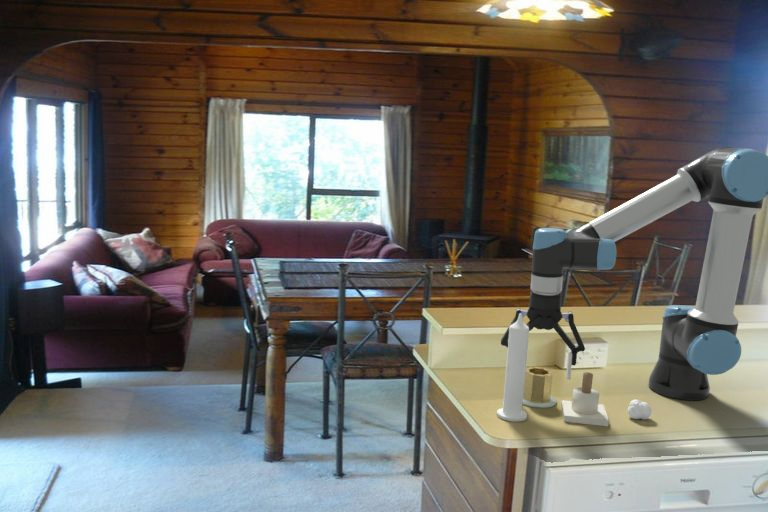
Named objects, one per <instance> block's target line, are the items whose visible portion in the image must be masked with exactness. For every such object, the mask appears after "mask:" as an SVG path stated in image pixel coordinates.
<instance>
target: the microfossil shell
mask: <svg viewBox="0 0 768 512" xmlns="http://www.w3.org/2000/svg"><path fill="white" fill-rule="evenodd" d="M651 414H652V408H651V405H649V403H647V402H646V401H641V400H640V399H632V400H630V402H629V405H628V408H627V415H628V416H629V417H630V419H634V420H639V419H641V420H643V421H644V420H648V419H649V418H650V417H651V416H652V415H651Z"/></svg>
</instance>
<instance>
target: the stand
mask: <svg viewBox="0 0 768 512" xmlns="http://www.w3.org/2000/svg"><path fill="white" fill-rule="evenodd" d="M593 378H594V374H593V373H592V372H586V371H585V372H583V373H582V384H581V387H576V388H574V389H573V390H572V400H564V399H563V400H562V399H561V403H560V407H561V413H562V419H563V422H564V423H573V424H582V425H592V426H593V425H594V426H601V427H609V423H610V422H609V421H610V420H609V416H608V414H607V411H606V407H605V404H603V403H602V404H601V403H599V401H600V392H599V391H598V390H596V389H593V388H592V387H593Z"/></svg>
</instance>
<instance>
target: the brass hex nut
mask: <svg viewBox="0 0 768 512" xmlns="http://www.w3.org/2000/svg"><path fill="white" fill-rule="evenodd" d="M553 375H554V374H553V371H552V370H550V369H548V368H545V367H539V366H529V367H526V372H525V383H524V395H523V399H525V400H527V401H529V402H532V403H547V402H550V397H551V395H552V384H553Z"/></svg>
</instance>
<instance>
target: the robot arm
mask: <svg viewBox="0 0 768 512" xmlns="http://www.w3.org/2000/svg"><path fill="white" fill-rule="evenodd" d="M767 196H768V155H767V154H766V153H764V152H762V151H760V150H759V151H758V150H756V149H753V148H750V147H749V148H748V147H747V148H746V147H745V148H744V147H743V148H742V147H731V146H730V147H728V146H727V147H725V146H724V147H719V148H715V149H713V150H711V151H708V152H707V153H704V154H703V155H701V156H699V157H697V158H696V159H694V160H692V161H691V162H689V163H687V164H686V165H683V166H681V167H680V168H678V169H677V171H676V175H673V176H672V177H671V178H669V179H666V180H664V181H662V182H661V183H659V184H657V185H656V186H654V187H651V188H650V189H648V190H646V191H645V192H643V193H641V194H638V195H637V196H635V197H634V198H632V199H630V200H628V201H626V202H624V203H622V204H621V205H619V206H617V207H615V208H613V209H611V210H610V211H608V212H606V213H604V214H602V215H600V216H599V217H597V218H595V219H593V220H591V221H590V222H588V223H585V224H584V225H582V226H579V227H578V228H570V229H567V230H565V229H563V228H557V227H555V228H554V227H540V228H538V229H536V230H535V232H534V237H533V242H532V243H533V244H532V259H531V274H530V277H531V278H530V290H531V291H530V293H529V303H528V310H524V309H521V308H520V307H517V308H516V311H515V315H514V317H513V319H512V320H511V323H510V325H512V324H514V323H515V322H516V321H517V319H518V317H519V314H520V313H521V314H522V319H524V317H527V318H528V320H529V321H527V323H525V324H526V325H527V326H528V327H529V332H530V331H532V330H533V329H534V328H535V329H537V330H546V331H551V330H553V329H554V330H555V332H556V333H557V334H558V336H559V337H560V338H561V339H562V341H563V342H564V343H565V344H566V346H567V347H568V348H569V350H567V351H568V352H567V363H566V379H567V380H571V379H572V378H571V376H572V366H576V365H577V356H578V354H579V352H585V350H586V348H585V345H584V342H583V340H582V338H581V335H580V333H579V331H578V329H577V327H576V324H575V321H574V320H575V318H574V314H573V312H572V311H568V312H562V311H561V308H562V293H561V292H562V291H563V281H564V269H568V270H570V269H572V270H577V269H578V270H595V271H601V270H602V271H603V270H605V271H606V270H612V269H613V268H614V267H615V265H616V261H617V246H616V243H615V242H617V241H619V240H621V239H623V238H625V237H627V236H628V235H630V234H632V233H634V232H636V231H638V230H639V229H642V228H644V227H645V226H648V225H650V224H651V223H653V222H655V221H657V220H659V219H660V218H662V217H664V216H665V215H667V214H670V213H671V212H674V211H675V210H677V209H678V208H681V207H683V206H684V205H687V204H689V203H690V202H696V203H698V202H701V201H702V200H704V199H706V198H708V201H707V203H708V204H709V206H710V207H711V208H712V216H711V217H712V218H711V221H710V227H709V231H708V232H709V233H708V239H707V243H706V248H705V252H704V253H705V254H704V259H703V265H702V269H701V274H700V280H699V286H698V291H697V297H696V302H695V305H685V304H684V305H679V304H672V305H668V306H666V307H665V308H664V312H663V316H662V325H661V336H660V342H659V343H660V344H659V352H658V353H659V354H658V359H657V361H656V363H655V365H654V367H653V369H652V371H651V373H650V375H649V377H648V385H647V386H648V388H649V389H650V390H652V391H653V392H655V393H657V394H659V395H662V396H665V397H668V398H674V399H678V400H686V401H699V400H700V401H701V400H705V399H707V398H708V397H709V396H710V389H711V387H710V382H709V377H708V375H710V376H714V375H715V376H717V375H722V374H724V373H727V372H728V371H730V370H731V369H733V368H734V367H735V366H736V365H737V364H738V362H739V361H740V359H741V356H742V345H741V342H740V340H739V339H738V337H737V332H738V326H739V322H740V321H739V320H738V318H737V316H735V314H734V312H735V306H736V301H737V296H738V292H739V286H740V282H741V275H742V272H743V266H744V262H745V257H746V252H747V247H748V241H749V237H750V236H749V235H750V232H751V227H752V223H753V222H752V221H753V217H754V215H756V214H757V213H759V212H760V211H762V209H763V203H764V200H765V198H766V197H767ZM562 319H563V320H564V321H565V322H566V323H568V325H569V327H570V330H571V332H572V334H573V336H574V339H575V341H576V343H577V345H575V343H574V342H573V341H572V340H571V338H570V337H569V336H568V335H567V333H566V332H565V331H564V329H563V328H562V327H561V325H560V324H559V322H561V320H562ZM510 325H509V326H508V327H507V328H506V331H505V332H504V334H503V336H502V337H501V339H500V344H501V346H504V347H506V348H507V349H508V339H509V327H510Z"/></svg>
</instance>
